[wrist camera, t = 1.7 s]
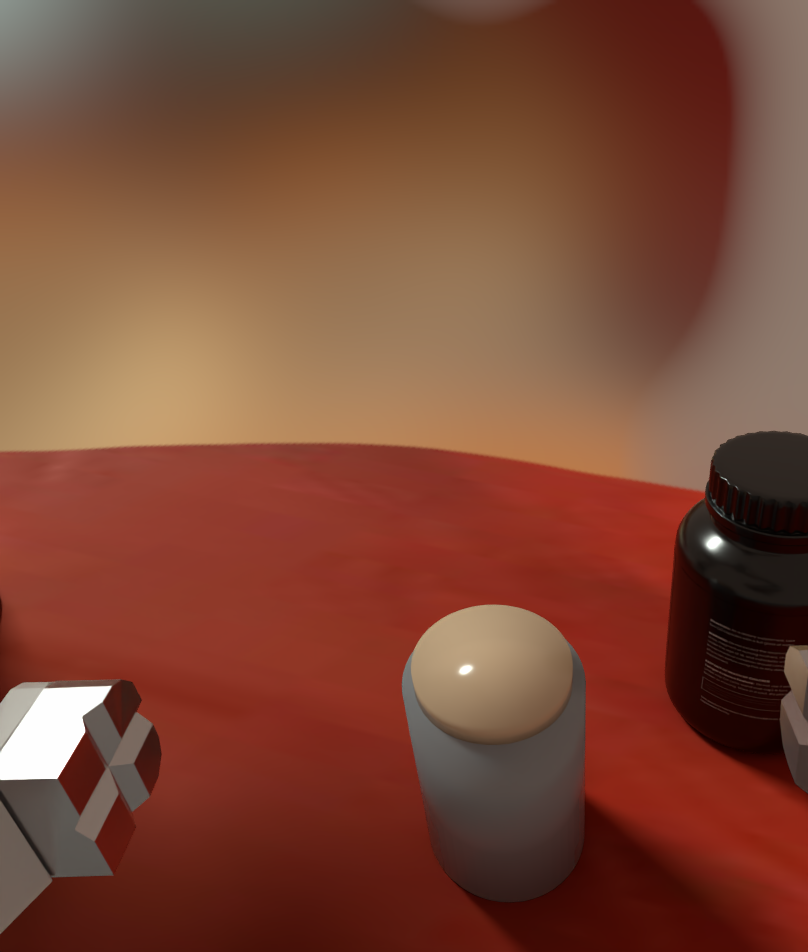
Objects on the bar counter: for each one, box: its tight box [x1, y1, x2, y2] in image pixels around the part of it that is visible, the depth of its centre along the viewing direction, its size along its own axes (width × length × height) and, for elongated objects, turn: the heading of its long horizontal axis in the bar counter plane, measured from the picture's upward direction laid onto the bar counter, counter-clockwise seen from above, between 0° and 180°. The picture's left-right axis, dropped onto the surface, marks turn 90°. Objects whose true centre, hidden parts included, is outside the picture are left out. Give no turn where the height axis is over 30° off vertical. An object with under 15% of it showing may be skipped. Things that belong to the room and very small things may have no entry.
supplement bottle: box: [665, 431, 808, 754], centre depth 30 cm, size 7×7×12 cm
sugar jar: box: [402, 605, 586, 902], centre depth 27 cm, size 6×6×9 cm
